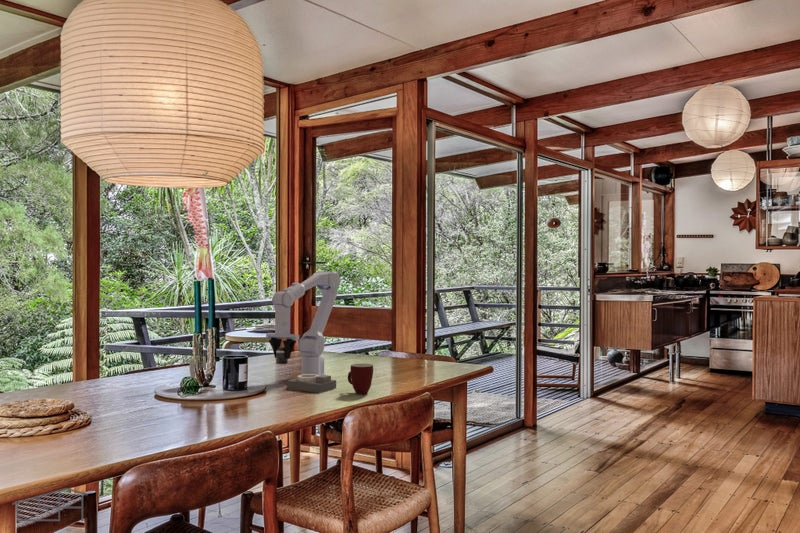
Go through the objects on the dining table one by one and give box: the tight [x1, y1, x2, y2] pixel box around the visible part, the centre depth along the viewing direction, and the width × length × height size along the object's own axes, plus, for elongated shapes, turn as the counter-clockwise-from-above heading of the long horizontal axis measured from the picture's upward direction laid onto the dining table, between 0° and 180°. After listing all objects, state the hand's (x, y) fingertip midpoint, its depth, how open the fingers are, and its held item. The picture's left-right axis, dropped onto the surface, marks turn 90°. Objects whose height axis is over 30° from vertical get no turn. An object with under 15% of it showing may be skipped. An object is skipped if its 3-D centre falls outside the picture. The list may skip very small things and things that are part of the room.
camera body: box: [286, 373, 337, 394], centre depth 231 cm, size 10×15×5 cm, turn 63°
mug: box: [347, 363, 374, 395], centre depth 224 cm, size 10×8×10 cm
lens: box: [275, 346, 289, 365], centre depth 242 cm, size 5×5×6 cm
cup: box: [188, 357, 207, 378], centre depth 233 cm, size 8×8×10 cm
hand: (282, 358), depth 242 cm, fingers closed on lens, 4 cm apart
